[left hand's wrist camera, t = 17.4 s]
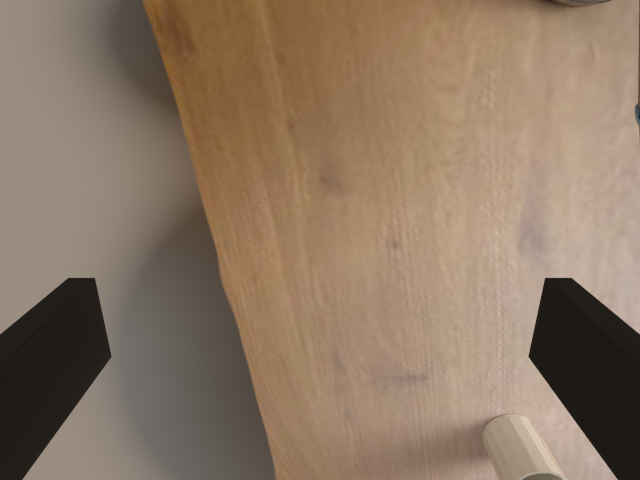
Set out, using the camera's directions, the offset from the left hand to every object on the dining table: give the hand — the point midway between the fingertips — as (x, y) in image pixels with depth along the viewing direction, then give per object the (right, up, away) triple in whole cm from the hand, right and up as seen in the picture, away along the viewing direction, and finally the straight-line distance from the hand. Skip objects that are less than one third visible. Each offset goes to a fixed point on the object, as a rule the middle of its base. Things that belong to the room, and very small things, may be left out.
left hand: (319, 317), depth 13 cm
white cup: (+26, -25, +47) cm, 59 cm away
